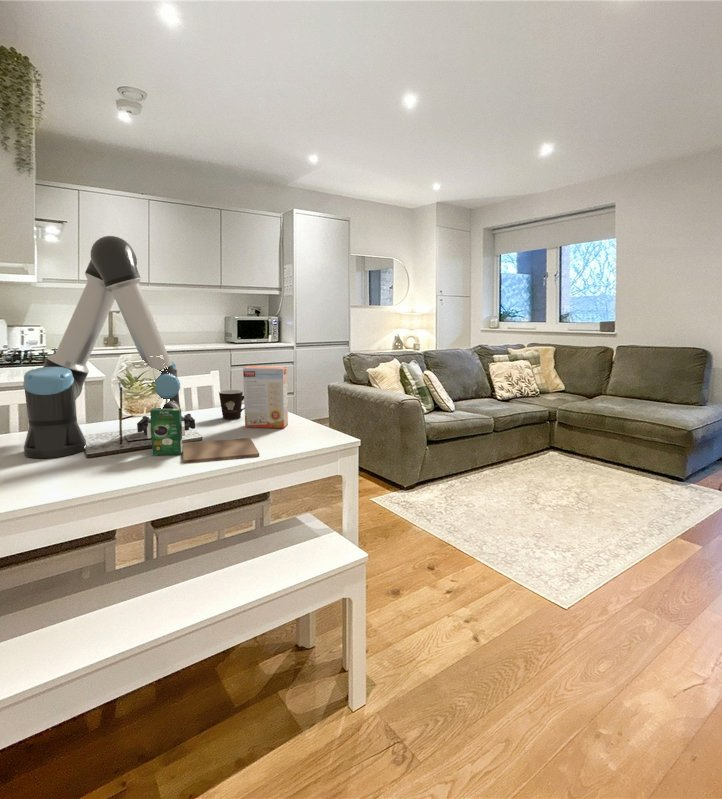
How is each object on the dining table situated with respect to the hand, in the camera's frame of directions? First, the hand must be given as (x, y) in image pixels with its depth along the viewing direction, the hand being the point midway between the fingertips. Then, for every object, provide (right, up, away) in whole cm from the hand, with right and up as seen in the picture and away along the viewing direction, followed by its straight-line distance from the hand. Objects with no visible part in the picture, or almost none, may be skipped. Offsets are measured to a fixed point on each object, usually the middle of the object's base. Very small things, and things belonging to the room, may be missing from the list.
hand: (166, 432), depth 134 cm
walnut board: (+12, -6, +10) cm, 16 cm away
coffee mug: (+6, +2, +51) cm, 52 cm away
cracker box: (+20, -1, +40) cm, 44 cm away
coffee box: (-2, -7, +6) cm, 9 cm away
